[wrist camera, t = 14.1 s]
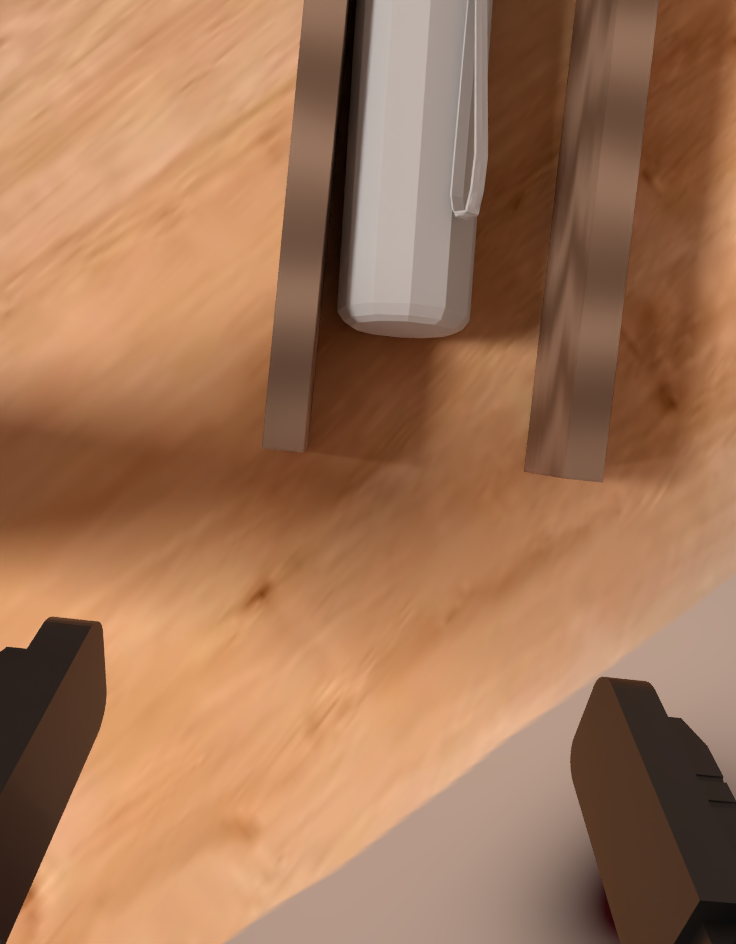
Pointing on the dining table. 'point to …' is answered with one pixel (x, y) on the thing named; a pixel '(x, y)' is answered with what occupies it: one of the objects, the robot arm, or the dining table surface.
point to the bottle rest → (571, 241)
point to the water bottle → (414, 165)
